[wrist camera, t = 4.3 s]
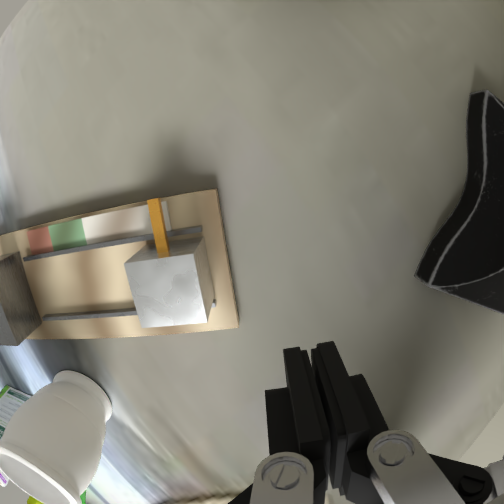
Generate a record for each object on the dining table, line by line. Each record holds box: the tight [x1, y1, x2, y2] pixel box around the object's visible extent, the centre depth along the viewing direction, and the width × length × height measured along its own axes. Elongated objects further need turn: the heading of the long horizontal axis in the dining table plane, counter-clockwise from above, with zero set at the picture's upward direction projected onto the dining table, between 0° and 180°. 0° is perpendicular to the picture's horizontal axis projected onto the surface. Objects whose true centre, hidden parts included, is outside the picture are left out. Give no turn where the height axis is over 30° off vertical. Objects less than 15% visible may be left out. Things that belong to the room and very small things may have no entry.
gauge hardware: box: [0, 225, 217, 346], centre depth 24 cm, size 22×8×5 cm, turn 98°
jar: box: [0, 370, 112, 504], centre depth 24 cm, size 11×10×15 cm
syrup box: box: [0, 385, 32, 487], centre depth 26 cm, size 6×6×14 cm
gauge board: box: [0, 188, 239, 339], centre depth 27 cm, size 25×12×2 cm, turn 98°
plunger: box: [124, 197, 215, 328], centre depth 23 cm, size 5×9×5 cm, turn 8°
